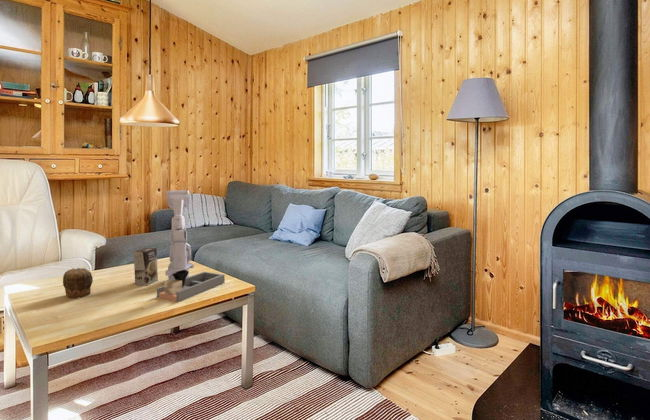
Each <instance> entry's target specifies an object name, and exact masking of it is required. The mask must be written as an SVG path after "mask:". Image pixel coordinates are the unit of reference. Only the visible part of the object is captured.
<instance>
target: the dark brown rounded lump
mask: <svg viewBox="0 0 650 420" xmlns="http://www.w3.org/2000/svg"><path fill="white" fill-rule="evenodd" d="M93 282H94V278H93V275H92V272H91V271H90V270H88V269H86V268H85V267H83V268H82V267H81V268H80V267H77V268H71V269H67V271H65V272H64V274H63V277H62V286H63V288H64V290H65V291H64V292H65V295H66V296H67V298H68V297H69V298H70V297H71V298H70V299H78V298H77V297H80V298H85V297H87V296H89V295H91V294H90V293H91V288H92V284H93ZM84 296H85V297H84Z"/></svg>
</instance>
